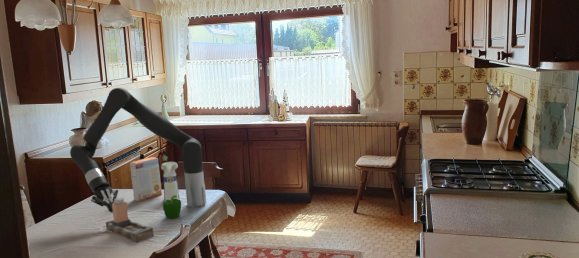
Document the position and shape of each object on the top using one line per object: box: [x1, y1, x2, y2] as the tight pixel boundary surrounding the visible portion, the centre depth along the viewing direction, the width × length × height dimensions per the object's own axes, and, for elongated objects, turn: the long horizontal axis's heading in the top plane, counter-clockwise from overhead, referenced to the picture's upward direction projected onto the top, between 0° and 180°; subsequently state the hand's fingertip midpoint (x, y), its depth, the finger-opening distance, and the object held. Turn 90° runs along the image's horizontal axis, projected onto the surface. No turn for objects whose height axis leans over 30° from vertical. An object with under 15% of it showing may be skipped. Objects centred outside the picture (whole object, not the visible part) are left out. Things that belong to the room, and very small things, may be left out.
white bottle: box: [160, 154, 180, 202], centre depth 235 cm, size 8×9×25 cm
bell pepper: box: [162, 195, 182, 220], centre depth 209 cm, size 8×8×10 cm
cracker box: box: [129, 156, 163, 202], centre depth 240 cm, size 14×6×21 cm, turn 141°
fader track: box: [105, 219, 154, 243], centre depth 193 cm, size 24×8×4 cm, turn 50°
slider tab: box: [112, 197, 130, 227], centre depth 195 cm, size 5×6×12 cm
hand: (113, 211), depth 199 cm, fingers closed
